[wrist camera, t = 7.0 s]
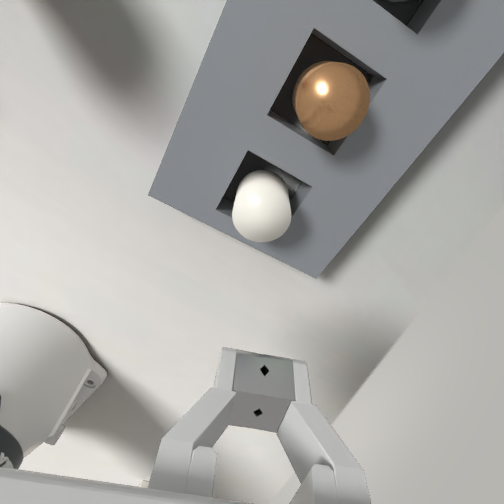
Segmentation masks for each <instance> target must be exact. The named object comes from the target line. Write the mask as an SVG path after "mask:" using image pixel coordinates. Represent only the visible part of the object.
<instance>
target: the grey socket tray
mask: <svg viewBox="0 0 504 504" xmlns="http://www.w3.org/2000/svg"><path fill="white" fill-rule="evenodd" d="M311 33H312V34H314V35H315V36H317V37H318V38H320V39H321V40H322V41H324V42H325V43H327V44H328V45H330V46H331V47H332V48H334V49H335V50H337V51H338V52H340V53H341V54H342V55H344V56H345V57H347V58H348V59H350V60H351V61H352V62H354V63H355V64H357V65H358V66H360V67H361V68H362V69H364V70H365V71H367V72H368V73H370V74H371V75H372V76H373V77H372V79H371V80H370V82H369V83H368V86H369V91H370V103H369V108H368V111H367V114H366V116H365V118H364V120H363V121H362V123H361V124H360V125H359V127H358V128H357V129H356V130H355V131H353V132H352V133H351V134H349V135H348V136H346V137H344V138H342V139H339V140H334V141H330V142H329V143H328V145H326V144H324V143H322V142H321V141H319V140H318V139H316V138H314V137H313V136H311V135H309V134H308V133H306V132H304V131H303V130H301V129H300V128H298V127H296V126H295V125H293V124H291V123H290V122H288V121H287V120H285V119H283V118H282V117H280V116H278V115H277V114H275V113H274V112H272V111H270V108H271V106H272V105H273V103H274V101H275V99H276V97H277V95H278V93H279V92H280V90H281V88H282V86H283V84H284V82H285V81H286V79H287V77H288V75H289V73H290V71H291V69H292V68H293V66H294V64H295V62H296V60H297V58H298V56H299V55H300V53H301V51H302V49H303V47H304V45H305V44H306V42H307V40H308V38H309V36H310V34H311ZM503 53H504V0H424V1H423V2H422V4H421V5H420V7H419V8H418V10H417V11H416V13H415V14H414V16H413V17H412V19H411V20H410V22H409V23H408V25H407V26H406V25H404V24H403V23H402V22H401V21H399V20H398V19H397V18H395V17H394V16H393V15H391V14H390V13H389V12H387V11H386V10H385V9H384V8H382V7H381V6H380V5H378V4H377V3H376V2H374V1H373V0H227V1H226V4H225V6H224V9H223V11H222V14H221V16H220V19H219V21H218V24H217V26H216V29H215V31H214V33H213V36H212V38H211V41H210V43H209V46H208V48H207V51H206V53H205V56H204V58H203V61H202V63H201V66H200V68H199V70H198V73H197V75H196V78H195V80H194V83H193V85H192V88H191V90H190V93H189V95H188V98H187V100H186V103H185V105H184V107H183V110H182V112H181V115H180V117H179V120H178V122H177V125H176V127H175V130H174V132H173V135H172V137H171V140H170V142H169V145H168V147H167V149H166V152H165V154H164V157H163V159H162V162H161V164H160V167H159V169H158V172H157V174H156V177H155V179H154V182H153V184H152V186H151V189H150V191H149V194H148V195H149V196H151V197H153V198H155V199H157V200H159V201H161V202H163V203H165V204H167V205H169V206H171V207H173V208H175V209H177V210H179V211H181V212H183V213H185V214H187V215H189V216H191V217H193V218H195V219H197V220H199V221H201V222H203V223H205V224H207V225H209V226H211V227H213V228H215V229H217V230H219V231H221V232H223V233H225V234H227V235H229V236H231V237H233V238H235V239H237V240H239V241H241V242H243V243H245V244H247V245H249V246H251V247H254V248H256V249H258V250H260V251H262V252H264V253H266V254H268V255H270V256H272V257H274V258H276V259H278V260H280V261H282V262H284V263H286V264H288V265H290V266H292V267H294V268H296V269H298V270H300V271H302V272H304V273H306V274H308V275H310V276H312V277H314V278H317V277H318V276H319V275H320V274H321V272H322V271H323V270H324V269H325V268H326V266H327V265H328V264H329V263H330V262H331V260H332V259H333V258H334V257H335V256H336V254H337V253H338V252H339V251H340V250H341V248H342V247H343V246H344V245H345V244H346V242H347V241H348V240H349V239H350V237H351V236H352V235H353V234H354V233H355V231H356V230H357V229H358V228H359V227H360V225H361V224H362V223H363V222H364V221H365V219H366V218H367V217H368V216H369V215H370V213H371V212H372V211H373V210H374V209H375V207H376V206H377V205H378V204H379V203H380V201H381V200H382V199H383V198H384V197H385V195H386V194H387V193H388V192H389V191H390V189H391V188H392V187H393V186H394V185H395V183H396V182H397V181H398V180H399V179H400V177H401V176H402V175H403V174H404V172H405V171H406V170H407V169H408V168H409V166H410V165H411V164H412V163H413V162H414V160H415V159H416V158H417V157H418V156H419V154H420V153H421V152H422V151H423V150H424V148H425V147H426V146H427V145H428V144H429V142H430V141H431V140H432V139H433V138H434V136H435V135H436V134H437V133H438V132H439V130H440V129H441V128H442V127H443V126H444V124H445V123H446V122H447V121H448V120H449V118H450V117H451V116H452V115H453V114H454V112H455V111H456V110H457V109H458V107H459V106H460V105H461V104H462V103H463V101H464V100H465V99H466V98H467V97H468V95H469V94H470V93H471V92H472V91H473V89H474V88H475V87H476V86H477V85H478V83H479V82H480V81H481V80H482V79H483V77H484V76H485V75H486V74H487V73H488V71H489V70H490V69H491V68H492V67H493V65H494V64H495V63H496V62H497V61H498V59H499V58H500V57H501V56H502V55H503ZM248 150H249V151H251V152H252V153H254V154H256V155H258V156H259V157H261V158H263V159H265V160H266V161H268V162H270V163H272V164H273V165H275V166H277V167H279V168H280V169H282V170H284V171H286V172H287V173H289V174H291V175H293V176H294V177H296V178H298V179H299V180H301V181H303V182H302V184H301V185H300V187H299V188H298V190H297V191H296V193H295V194H294V196H293V197H292V199H291V200H290V208H291V222H290V225H289V227H288V229H287V230H286V232H285V233H284V234H283V235H282V236H280V237H279V238H277V239H275V240H273V241H270V242H254V241H251V240H248V239H246V238H245V237H243V236H242V235H241V234H240V233H239V232H238V231H237V230H236V228H235V226H234V224H233V220H232V211H233V206H234V202H233V201H231V200H229V199H227V198H225V197H223V195H224V193H225V192H226V190H227V188H228V186H229V184H230V182H231V180H232V179H233V177H234V175H235V173H236V171H237V169H238V167H239V166H240V164H241V162H242V160H243V158H244V156H245V155H246V153H247V151H248Z"/></svg>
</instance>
